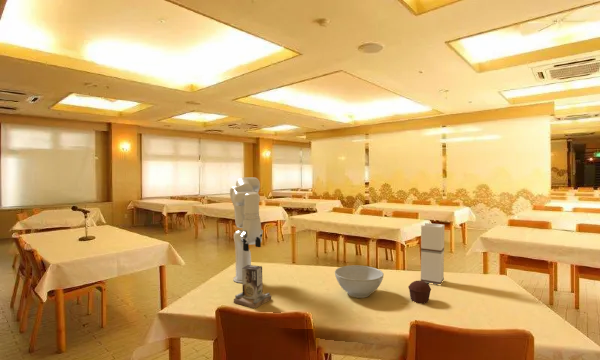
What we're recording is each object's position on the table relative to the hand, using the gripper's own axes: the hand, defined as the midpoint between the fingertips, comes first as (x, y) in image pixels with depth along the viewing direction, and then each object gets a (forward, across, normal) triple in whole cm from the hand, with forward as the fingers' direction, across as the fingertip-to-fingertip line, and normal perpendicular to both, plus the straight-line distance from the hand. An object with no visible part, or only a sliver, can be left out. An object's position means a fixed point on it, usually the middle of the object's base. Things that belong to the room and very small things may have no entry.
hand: (252, 248), depth 178 cm
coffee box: (+26, 0, 0) cm, 26 cm away
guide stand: (+28, 0, 0) cm, 28 cm away
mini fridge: (+28, -81, +75) cm, 114 cm away
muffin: (+28, -47, +75) cm, 93 cm away
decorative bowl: (+28, -39, +44) cm, 65 cm away
